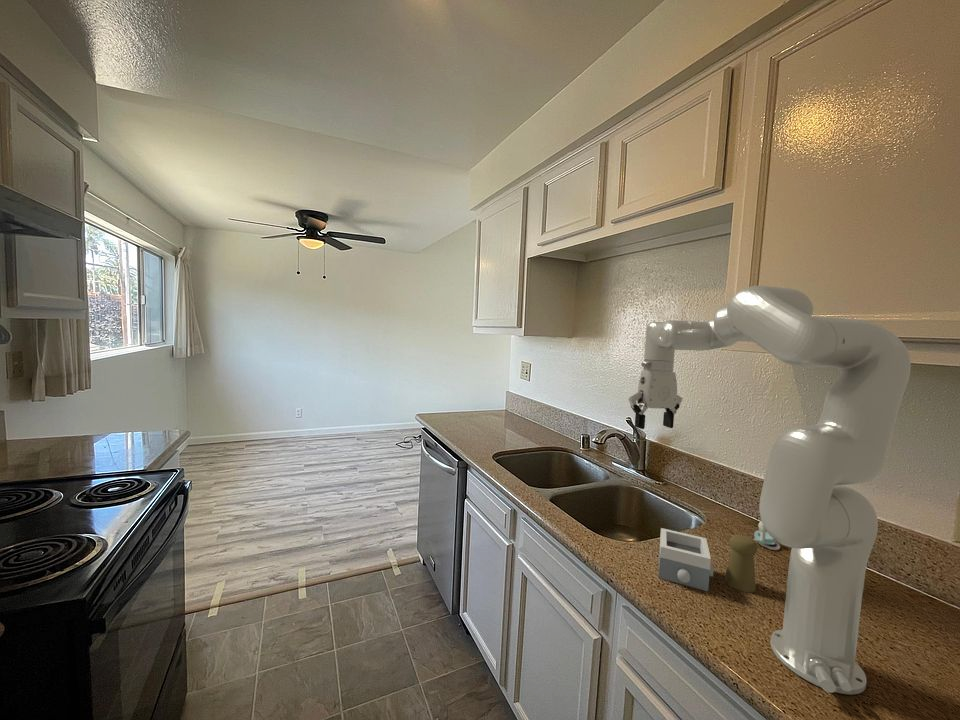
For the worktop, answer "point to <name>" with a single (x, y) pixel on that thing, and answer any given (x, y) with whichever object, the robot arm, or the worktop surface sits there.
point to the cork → (741, 564)
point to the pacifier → (765, 538)
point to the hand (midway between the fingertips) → (653, 427)
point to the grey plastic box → (684, 559)
